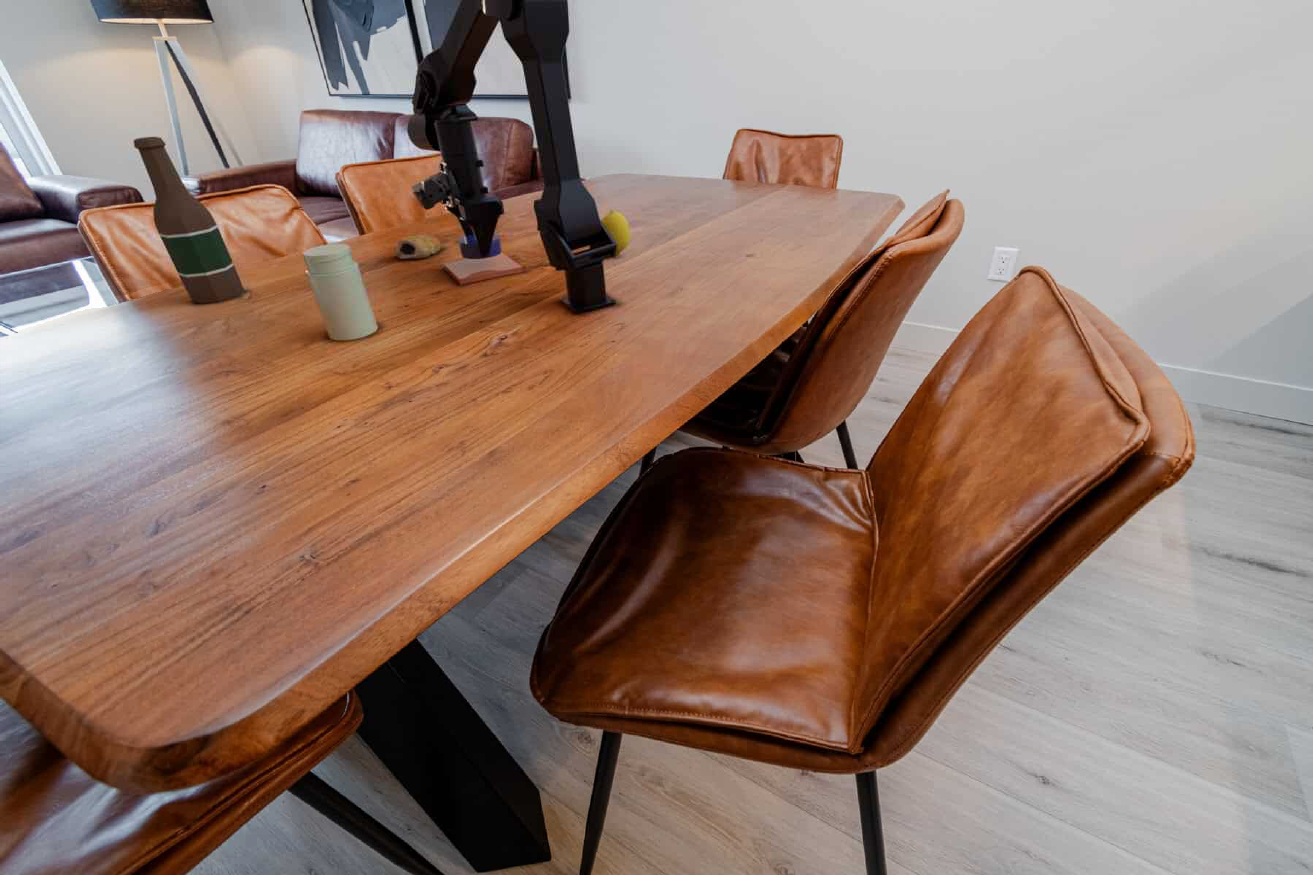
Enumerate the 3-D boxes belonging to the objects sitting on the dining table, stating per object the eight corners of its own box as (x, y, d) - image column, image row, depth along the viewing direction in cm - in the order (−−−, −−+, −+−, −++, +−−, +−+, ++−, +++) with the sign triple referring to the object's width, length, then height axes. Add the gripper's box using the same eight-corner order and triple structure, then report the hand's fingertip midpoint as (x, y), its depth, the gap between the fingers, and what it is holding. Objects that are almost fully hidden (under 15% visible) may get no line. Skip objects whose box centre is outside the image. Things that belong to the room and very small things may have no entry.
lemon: (595, 258, 109) (591, 212, 105) (611, 250, 113) (607, 206, 109) (621, 261, 107) (618, 214, 103) (636, 253, 111) (633, 208, 107)
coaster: (523, 272, 104) (522, 266, 104) (460, 284, 100) (459, 279, 99) (503, 258, 112) (502, 252, 112) (444, 269, 108) (443, 263, 107)
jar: (383, 331, 84) (358, 249, 77) (335, 344, 80) (304, 259, 74) (370, 319, 88) (345, 240, 82) (324, 331, 85) (294, 250, 79)
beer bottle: (219, 305, 97) (144, 140, 84) (180, 303, 98) (100, 142, 85) (255, 289, 103) (190, 134, 90) (218, 288, 105) (148, 135, 92)
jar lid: (472, 248, 108) (469, 233, 107) (508, 248, 107) (505, 233, 105) (454, 259, 102) (451, 243, 101) (491, 259, 101) (488, 244, 100)
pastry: (422, 246, 122) (417, 227, 120) (451, 247, 121) (447, 228, 119) (394, 259, 115) (388, 239, 113) (424, 261, 113) (419, 240, 111)
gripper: (396, 154, 100) (420, 248, 108) (420, 166, 86) (446, 273, 94) (463, 146, 104) (481, 238, 112) (495, 157, 90) (513, 260, 99)
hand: (479, 251), depth 104 cm, fingers closed on jar lid, 7 cm apart
